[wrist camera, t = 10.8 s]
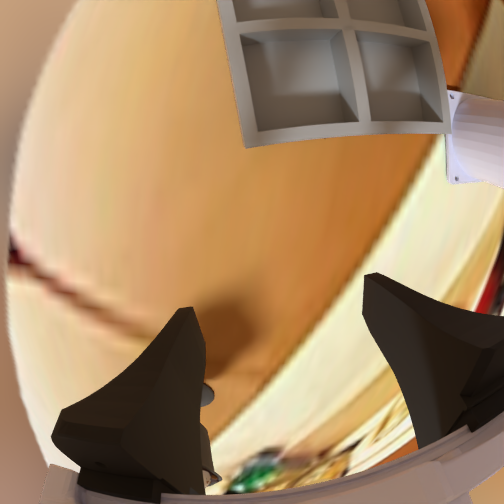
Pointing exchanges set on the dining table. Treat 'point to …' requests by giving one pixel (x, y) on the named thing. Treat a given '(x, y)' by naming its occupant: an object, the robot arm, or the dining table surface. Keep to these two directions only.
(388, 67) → the grey compartment tray
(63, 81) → the dining table surface
